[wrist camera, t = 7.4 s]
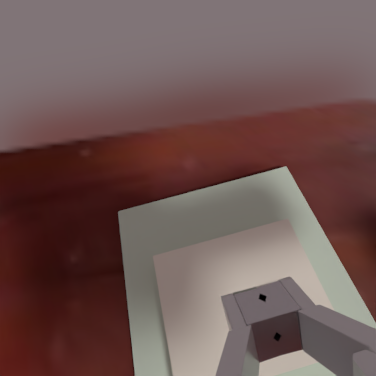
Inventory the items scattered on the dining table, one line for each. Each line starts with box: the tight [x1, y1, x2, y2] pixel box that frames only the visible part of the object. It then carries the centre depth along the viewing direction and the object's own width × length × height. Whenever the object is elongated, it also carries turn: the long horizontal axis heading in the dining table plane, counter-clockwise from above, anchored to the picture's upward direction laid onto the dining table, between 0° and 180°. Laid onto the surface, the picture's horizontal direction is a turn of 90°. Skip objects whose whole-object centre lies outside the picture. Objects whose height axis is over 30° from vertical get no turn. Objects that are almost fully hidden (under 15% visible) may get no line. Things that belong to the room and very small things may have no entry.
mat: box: [118, 167, 376, 376], centre depth 15 cm, size 15×17×1 cm
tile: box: [153, 219, 335, 376], centre depth 15 cm, size 10×1×8 cm
